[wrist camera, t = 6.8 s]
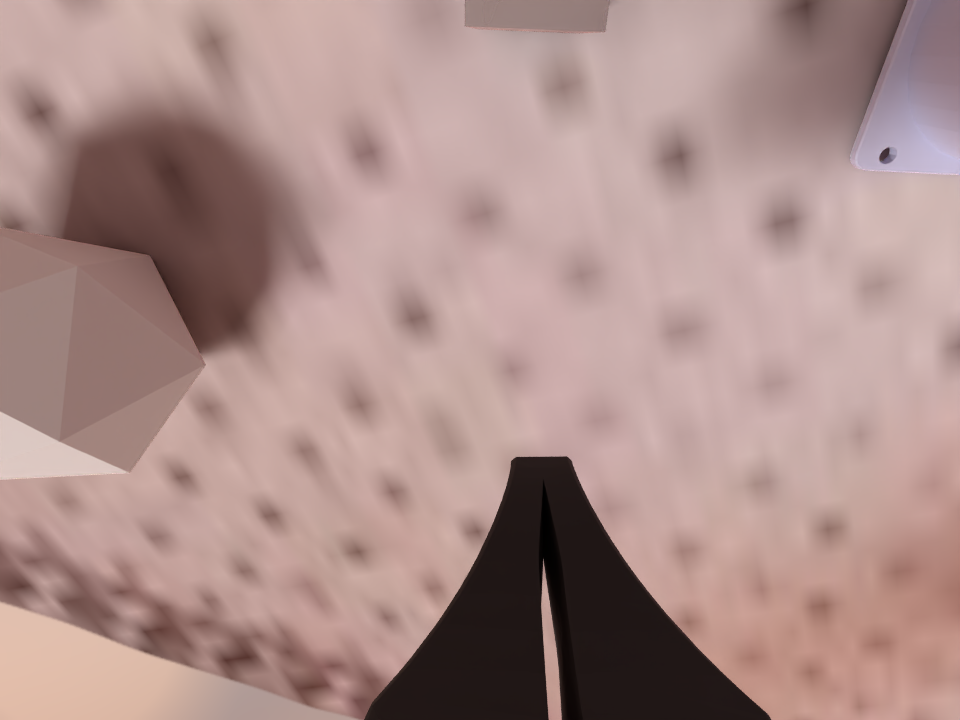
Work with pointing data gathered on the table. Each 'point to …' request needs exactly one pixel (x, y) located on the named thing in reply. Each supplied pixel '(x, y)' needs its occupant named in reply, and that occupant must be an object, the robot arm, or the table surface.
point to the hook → (538, 15)
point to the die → (85, 357)
